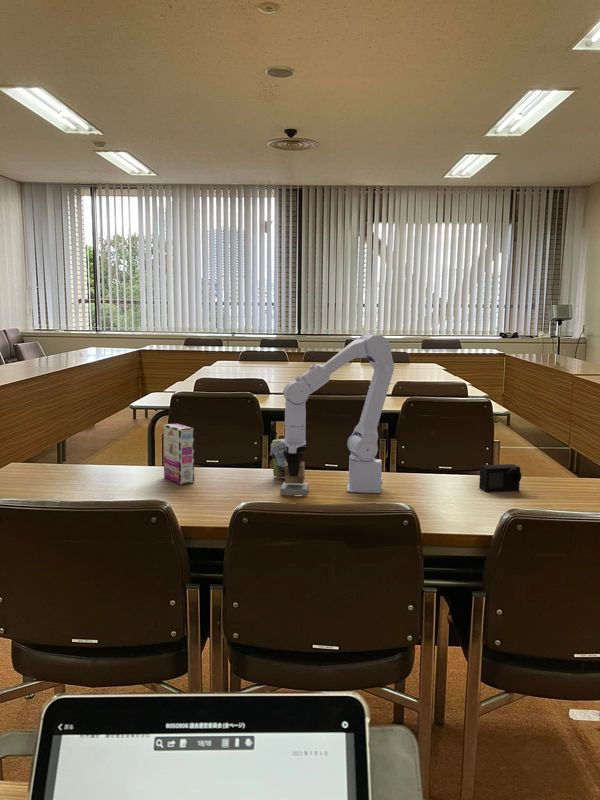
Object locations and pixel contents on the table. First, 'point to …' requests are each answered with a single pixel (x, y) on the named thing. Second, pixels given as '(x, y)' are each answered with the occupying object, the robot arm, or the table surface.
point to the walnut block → (295, 479)
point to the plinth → (294, 489)
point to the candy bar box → (179, 453)
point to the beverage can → (278, 458)
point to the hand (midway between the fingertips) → (294, 473)
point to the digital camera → (499, 478)
